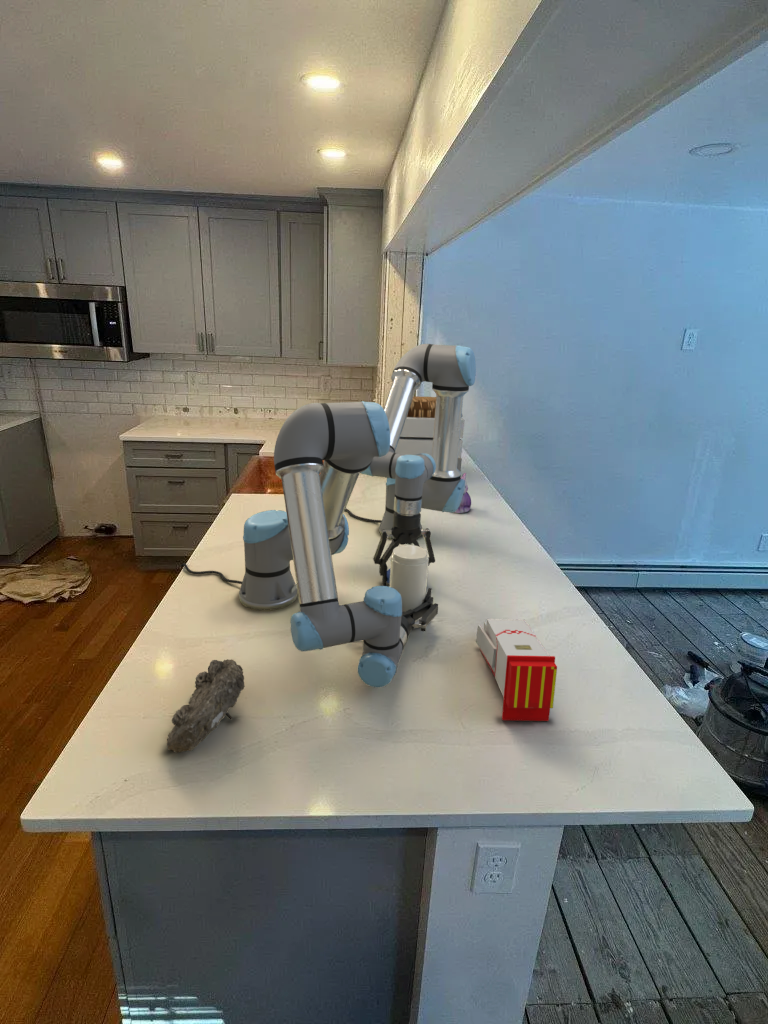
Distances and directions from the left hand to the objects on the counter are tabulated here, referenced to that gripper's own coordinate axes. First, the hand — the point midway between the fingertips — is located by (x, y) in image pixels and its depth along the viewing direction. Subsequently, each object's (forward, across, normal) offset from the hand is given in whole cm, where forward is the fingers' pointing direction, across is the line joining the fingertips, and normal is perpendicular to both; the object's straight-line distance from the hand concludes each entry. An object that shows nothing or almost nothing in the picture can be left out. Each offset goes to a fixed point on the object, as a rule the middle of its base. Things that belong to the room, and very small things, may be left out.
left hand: (410, 590), depth 147 cm
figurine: (+85, +4, -6) cm, 86 cm away
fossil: (-51, -28, -6) cm, 59 cm away
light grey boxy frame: (+132, -21, -6) cm, 134 cm away
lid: (+14, -5, -3) cm, 15 cm away
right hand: (+14, -5, -6) cm, 16 cm away
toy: (-22, +26, -6) cm, 35 cm away
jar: (-4, 0, -6) cm, 8 cm away
